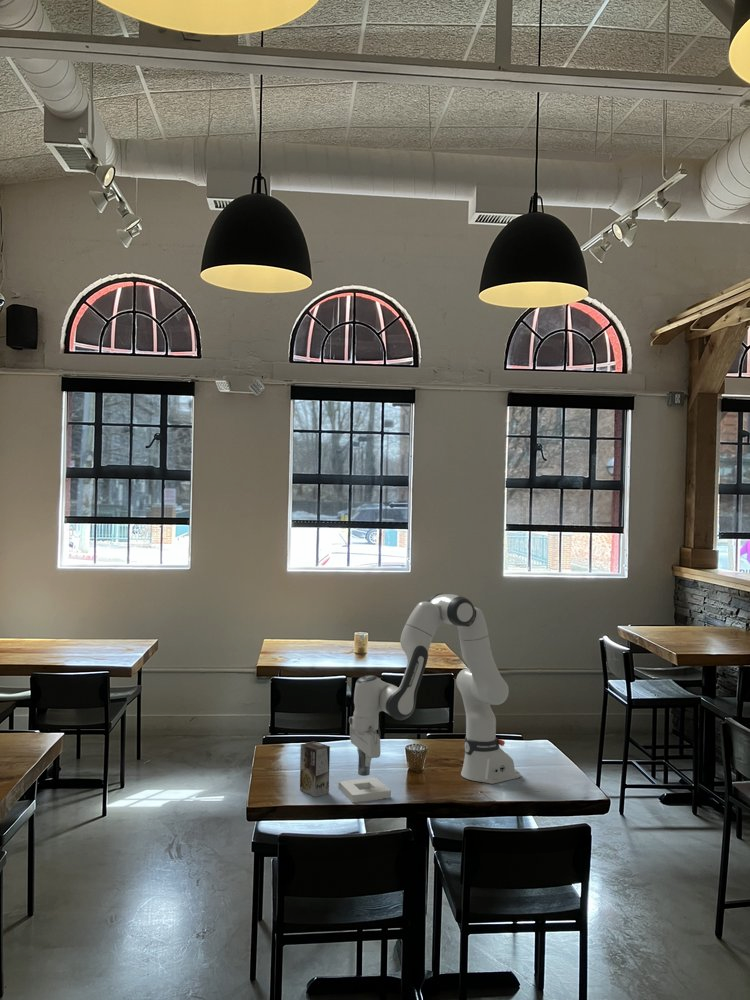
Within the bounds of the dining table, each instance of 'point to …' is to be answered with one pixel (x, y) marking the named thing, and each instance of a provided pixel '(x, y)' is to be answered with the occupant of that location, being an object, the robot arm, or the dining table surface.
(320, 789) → the coffee box
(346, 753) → the dining table surface
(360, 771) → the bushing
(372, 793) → the plate
